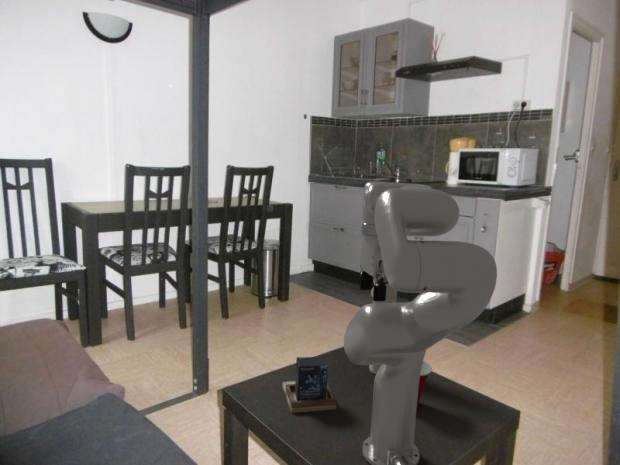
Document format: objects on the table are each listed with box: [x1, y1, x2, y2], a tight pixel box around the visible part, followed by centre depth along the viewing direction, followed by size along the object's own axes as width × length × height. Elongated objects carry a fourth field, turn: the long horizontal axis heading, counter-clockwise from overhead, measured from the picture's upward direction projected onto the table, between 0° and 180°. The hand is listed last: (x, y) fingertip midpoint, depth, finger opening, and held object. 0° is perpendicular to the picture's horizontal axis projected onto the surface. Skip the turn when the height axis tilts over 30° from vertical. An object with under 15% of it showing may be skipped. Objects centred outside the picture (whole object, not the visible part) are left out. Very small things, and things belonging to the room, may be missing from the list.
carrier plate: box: [281, 380, 337, 414], centre depth 124 cm, size 14×12×4 cm
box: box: [294, 356, 329, 401], centre depth 121 cm, size 8×6×11 cm
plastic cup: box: [417, 360, 433, 408], centre depth 121 cm, size 11×11×12 cm
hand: (372, 295), depth 118 cm, fingers open, 9 cm apart
